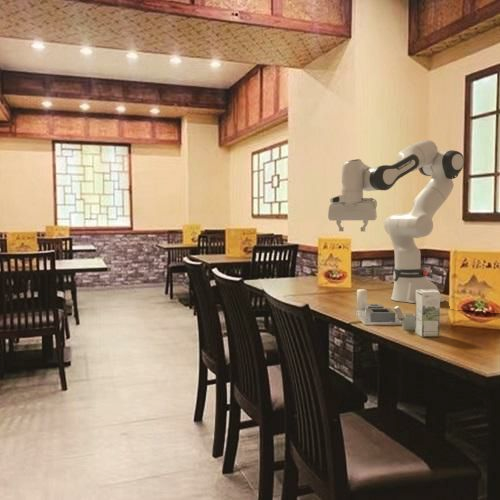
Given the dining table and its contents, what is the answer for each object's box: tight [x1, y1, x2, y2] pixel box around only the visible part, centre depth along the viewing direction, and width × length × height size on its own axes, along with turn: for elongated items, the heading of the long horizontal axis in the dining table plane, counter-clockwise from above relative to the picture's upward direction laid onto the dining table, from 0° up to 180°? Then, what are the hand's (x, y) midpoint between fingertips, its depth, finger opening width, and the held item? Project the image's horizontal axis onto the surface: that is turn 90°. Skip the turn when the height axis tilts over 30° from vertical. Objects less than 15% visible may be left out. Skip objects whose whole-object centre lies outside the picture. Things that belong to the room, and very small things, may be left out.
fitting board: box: [354, 303, 402, 326], centre depth 182 cm, size 13×22×4 cm, turn 177°
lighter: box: [393, 305, 415, 331], centre depth 164 cm, size 7×2×8 cm, turn 94°
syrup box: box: [414, 289, 441, 338], centre depth 156 cm, size 6×6×14 cm
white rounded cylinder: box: [356, 288, 368, 310], centre depth 200 cm, size 4×4×8 cm
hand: (351, 231), depth 207 cm, fingers open, 8 cm apart
